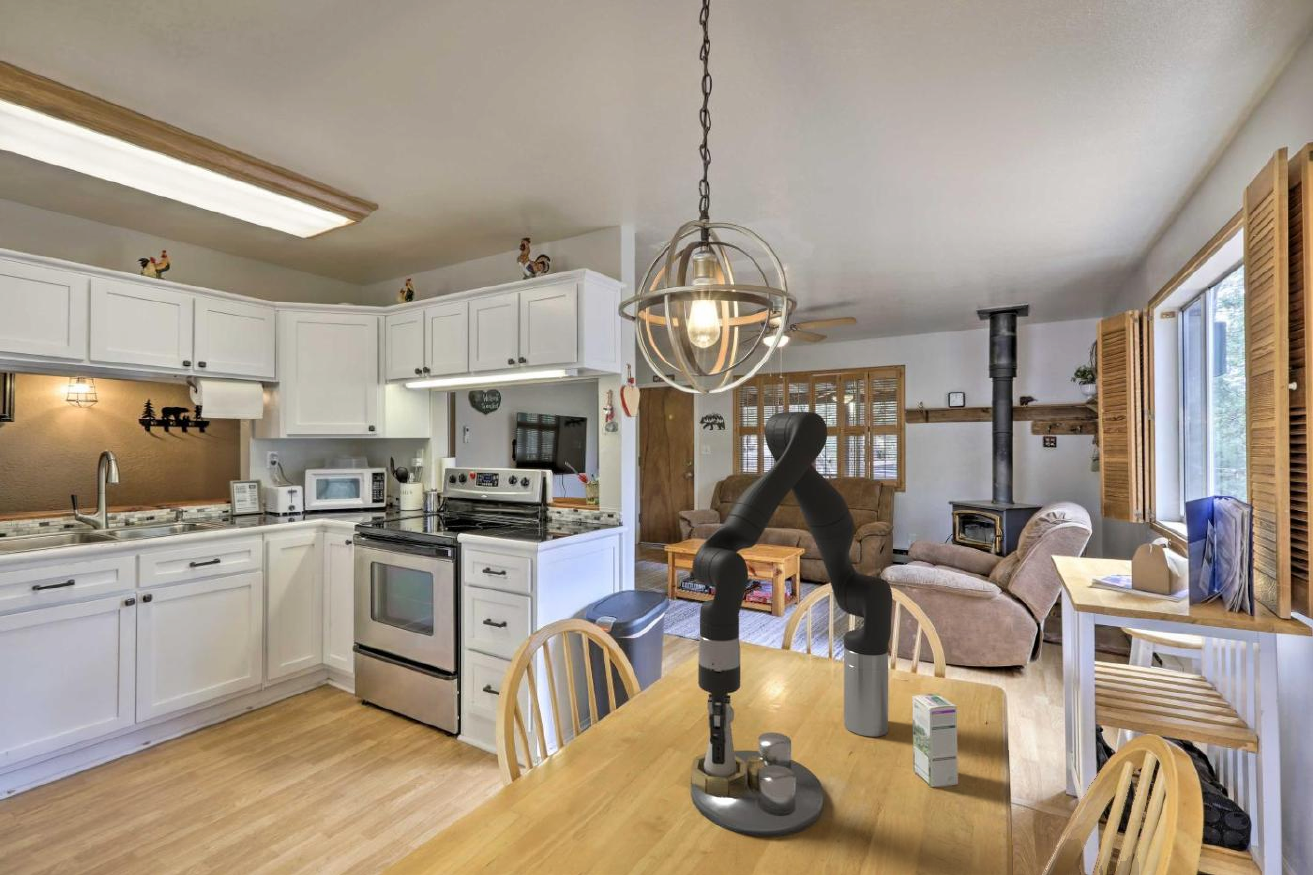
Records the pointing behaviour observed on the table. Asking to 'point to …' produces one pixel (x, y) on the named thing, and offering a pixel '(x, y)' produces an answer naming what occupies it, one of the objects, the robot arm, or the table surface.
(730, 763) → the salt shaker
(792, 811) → the carrier
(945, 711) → the syrup box
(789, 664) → the table surface
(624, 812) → the table surface
